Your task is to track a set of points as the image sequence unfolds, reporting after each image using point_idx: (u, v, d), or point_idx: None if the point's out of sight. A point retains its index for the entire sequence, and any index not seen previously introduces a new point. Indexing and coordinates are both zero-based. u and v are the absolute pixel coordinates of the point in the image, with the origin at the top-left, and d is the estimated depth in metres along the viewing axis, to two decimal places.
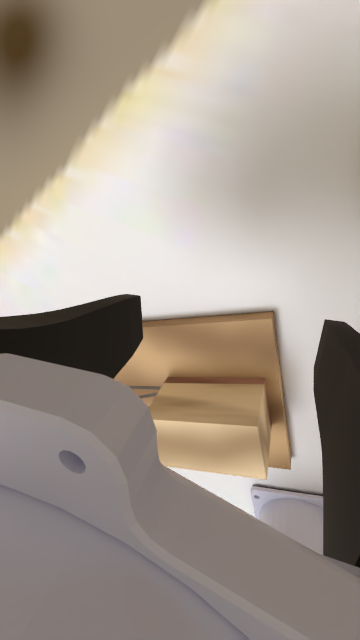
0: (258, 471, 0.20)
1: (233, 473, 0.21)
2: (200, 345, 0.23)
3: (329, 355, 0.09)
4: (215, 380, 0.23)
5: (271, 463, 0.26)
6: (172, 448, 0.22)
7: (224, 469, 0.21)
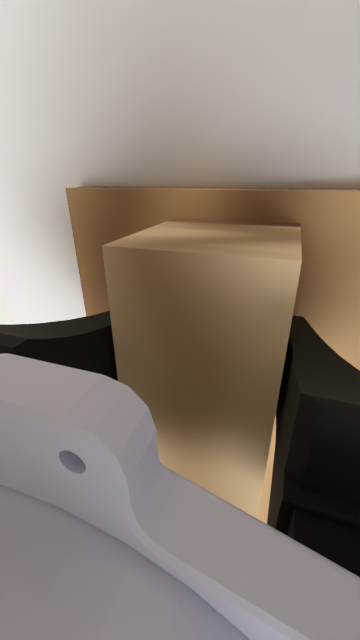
0: (263, 278, 0.06)
1: (277, 353, 0.07)
2: None
3: None
4: None
5: None
6: (199, 457, 0.09)
7: (261, 372, 0.07)
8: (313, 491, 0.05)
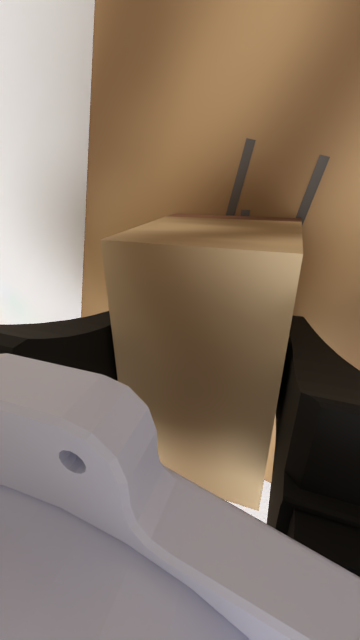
0: (263, 272, 0.06)
1: (278, 348, 0.07)
2: (145, 33, 0.09)
3: None
4: None
5: None
6: (199, 453, 0.09)
7: (261, 367, 0.07)
8: (313, 491, 0.05)
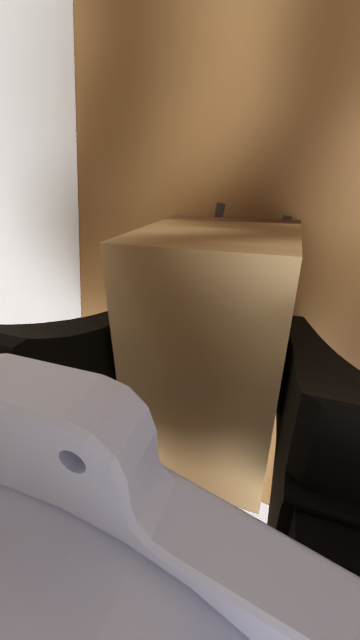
0: (262, 275, 0.06)
1: (277, 351, 0.07)
2: (121, 118, 0.11)
3: None
4: None
5: None
6: (198, 457, 0.09)
7: (261, 370, 0.07)
8: (314, 491, 0.05)
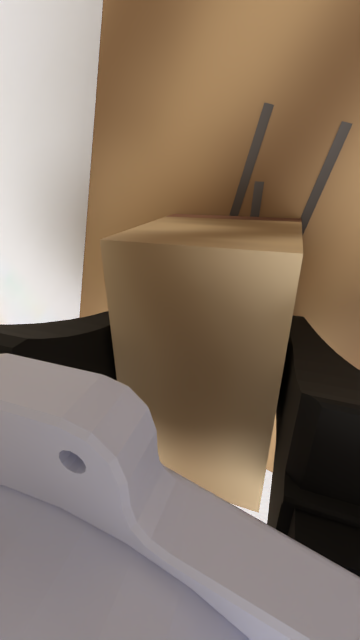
0: (263, 272, 0.06)
1: (278, 349, 0.07)
2: None
3: None
4: None
5: None
6: (198, 454, 0.09)
7: (261, 368, 0.07)
8: (313, 491, 0.05)
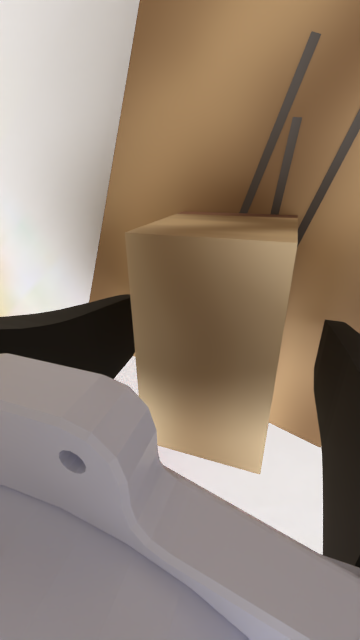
0: (264, 258, 0.07)
1: (277, 324, 0.08)
2: None
3: (329, 355, 0.09)
4: None
5: None
6: (207, 423, 0.10)
7: (263, 341, 0.08)
8: None
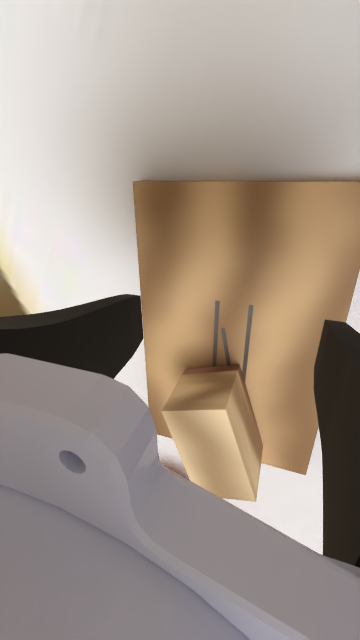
0: (216, 415, 0.19)
1: (231, 436, 0.19)
2: (162, 266, 0.21)
3: (329, 355, 0.09)
4: None
5: None
6: (222, 481, 0.21)
7: (229, 443, 0.19)
8: None
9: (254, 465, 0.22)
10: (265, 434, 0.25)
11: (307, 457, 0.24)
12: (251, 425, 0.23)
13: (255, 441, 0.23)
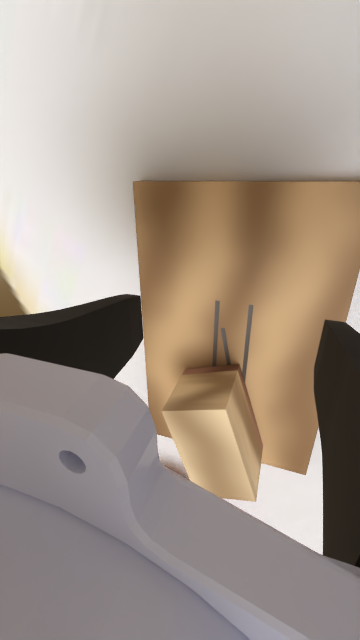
0: (216, 415, 0.19)
1: (231, 436, 0.19)
2: (162, 266, 0.21)
3: (329, 355, 0.09)
4: None
5: None
6: (222, 481, 0.21)
7: (229, 443, 0.19)
8: None
9: (254, 465, 0.22)
10: (265, 434, 0.25)
11: (307, 457, 0.24)
12: (251, 425, 0.23)
13: (255, 441, 0.23)
